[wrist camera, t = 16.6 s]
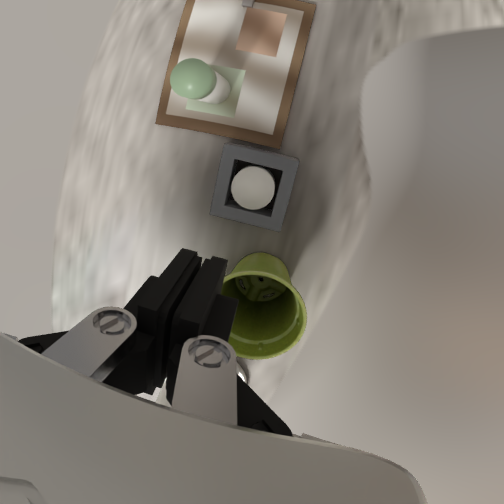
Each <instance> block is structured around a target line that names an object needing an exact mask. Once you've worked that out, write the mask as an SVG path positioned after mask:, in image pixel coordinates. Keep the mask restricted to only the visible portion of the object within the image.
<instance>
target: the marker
mask: <svg viewBox="0 0 504 504" xmlns="http://www.w3.org/2000/svg"><path fill="white" fill-rule="evenodd" d="M170 84H171V87H172V89H173V91H174V92H175V93H176V94H178V95H179V96H182V97H185V98H189V99H193V100H199V101H202V102H206V103H209V104H219V103H222V102H223V101H225V100H226V99H227V98H228V96H229V94H230V85H229V82H228V81H227V80H226V79H225V78H224V77H222V76H221V75H220V74H219V73H217V72H216V71H215V70H213V69H212V68H211V67H210V66H209V65H208V64H206V63H205V62H203V61H202V60H200V59H196V58H189V59H185V60H183V61H181V62H179V63H178V64H177V65H176V66H175V67H174V68H173V70H172V72H171V75H170Z"/></svg>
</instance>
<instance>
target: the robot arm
mask: <svg viewBox="0 0 504 504" xmlns="http://www.w3.org/2000/svg"><path fill="white" fill-rule="evenodd" d="M197 255H198V253H197V252H195V251H192V250H188V249H184V248H182V249H181V250H180V252H179V253H178V254H177V255H176V257H175V258H174V259H173V260H172V262H171V263H170V264H169V265H168V267H167V268H166V269H165V270H164V272H163V273H162V274H161V275H160V277H156V276H150V277H149V278H148V279H147V281H146V282H145V283H144V284H143V285H142V287H141V288H140V289H139V290H138V291H137V293H136V294H135V295H134V296H133V297H132V299H131V300H130V301H129V302H128V304H127V305H126V306H125V307H124V309H122V308H119V307H103V308H100V309H97V310H95V311H94V312H92V313H91V314H89V315H88V316H87V317H86V318H84V319H83V320H82V321H81V322H79V323H78V324H77V325H76V326H74V327H73V328H72V329H71V330H70V331H64V332H58V333H52V334H46V335H40V336H33V337H27V338H23V339H21V340H19V341H18V338H17V337H14V336H11V335H8V334H4V333H2V332H0V504H428V503H427V500H426V497H425V495H424V492H423V490H422V488H421V486H420V484H419V483H418V481H417V480H416V478H415V477H414V476H413V475H412V474H411V473H410V472H409V471H408V470H406V469H405V468H403V467H401V466H400V465H398V464H396V463H394V462H392V461H390V460H388V459H385V458H383V457H380V456H377V455H375V454H372V453H369V452H365V451H362V450H358V449H355V448H351V447H346V446H342V445H338V444H335V443H332V442H329V441H325V440H322V439H319V438H316V437H313V436H310V435H307V434H304V433H303V434H302V435H301V436H298V435H295V434H292V432H291V430H290V429H289V427H288V426H287V425H286V424H285V423H284V422H283V421H282V420H281V419H280V418H279V417H278V416H277V415H276V414H275V413H274V412H273V411H272V410H271V409H270V408H269V407H268V405H267V404H266V403H265V402H264V401H263V400H262V399H261V398H260V397H259V396H258V395H257V394H256V393H255V392H254V391H253V390H252V389H251V388H250V387H249V386H248V385H247V379H246V375H245V373H244V371H243V369H242V368H241V366H240V365H239V364H238V363H237V361H236V353H235V350H234V349H233V347H232V346H231V345H230V344H228V341H229V337H230V333H231V329H232V325H233V322H234V318H235V314H236V310H237V306H238V302H239V299H235V298H232V297H228V296H224V295H220V294H221V290H222V285H223V281H224V276H225V271H226V267H227V262H228V260H226V259H222V258H218V257H214V256H213V257H212V258H211V260H210V259H205V261H204V263H203V264H202V266H201V262H202V257H199V256H197ZM162 386H163V387H162ZM156 387H159V388H162V389H161V391H160V393H159V396H158V398H157V400H156V402H153V401H150V400H147V399H144V398H141V397H138V396H137V394H140V393H143V392H144V393H147V394H150V395H153V393H154V390H155V388H156Z"/></svg>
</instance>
